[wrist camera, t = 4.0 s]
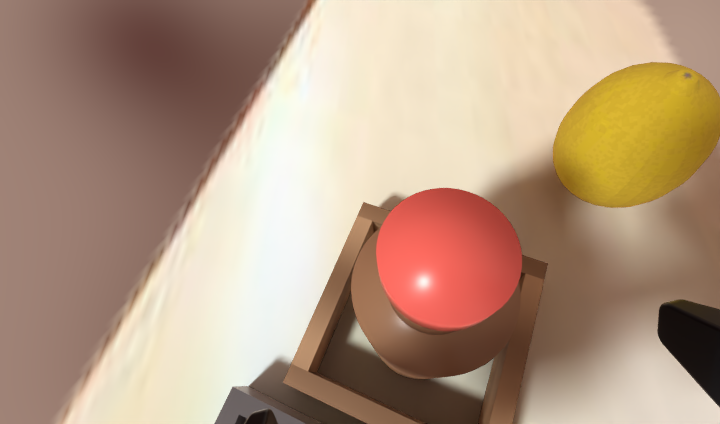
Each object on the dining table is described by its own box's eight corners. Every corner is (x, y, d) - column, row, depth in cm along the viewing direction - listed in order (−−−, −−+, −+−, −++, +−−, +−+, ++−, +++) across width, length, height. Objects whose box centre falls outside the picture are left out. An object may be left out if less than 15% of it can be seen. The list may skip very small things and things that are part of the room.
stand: (486, 474, 15) (498, 487, 13) (294, 382, 17) (282, 382, 16) (532, 275, 18) (547, 263, 17) (366, 218, 21) (363, 202, 19)
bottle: (449, 396, 17) (541, 420, 6) (355, 355, 18) (298, 315, 7) (477, 300, 18) (586, 190, 8) (389, 267, 19) (382, 133, 9)
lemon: (557, 128, 22) (637, 3, 15) (655, 173, 20) (801, 55, 13) (513, 196, 20) (578, 94, 13) (615, 251, 19) (755, 169, 11)
